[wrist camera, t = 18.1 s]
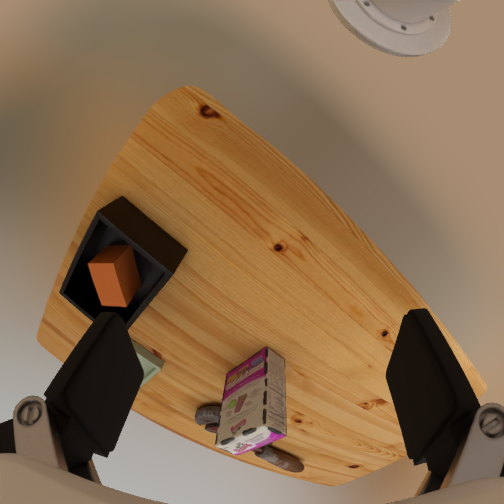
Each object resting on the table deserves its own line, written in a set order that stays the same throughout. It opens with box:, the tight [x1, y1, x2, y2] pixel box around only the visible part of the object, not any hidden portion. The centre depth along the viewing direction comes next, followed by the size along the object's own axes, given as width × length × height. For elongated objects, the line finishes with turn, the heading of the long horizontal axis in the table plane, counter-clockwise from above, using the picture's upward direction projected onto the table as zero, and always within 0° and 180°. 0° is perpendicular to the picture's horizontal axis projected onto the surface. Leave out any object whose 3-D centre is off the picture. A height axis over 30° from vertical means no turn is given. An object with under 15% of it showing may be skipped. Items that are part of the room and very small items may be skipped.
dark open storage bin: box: [59, 196, 188, 330], centre depth 40 cm, size 18×13×7 cm
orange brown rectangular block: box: [88, 245, 142, 307], centre depth 40 cm, size 7×4×6 cm, turn 4°
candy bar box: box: [215, 347, 287, 455], centre depth 44 cm, size 11×5×16 cm, turn 137°
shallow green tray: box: [130, 338, 164, 387], centre depth 54 cm, size 18×12×2 cm, turn 139°
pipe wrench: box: [195, 406, 304, 472], centre depth 61 cm, size 40×12×5 cm, turn 43°
